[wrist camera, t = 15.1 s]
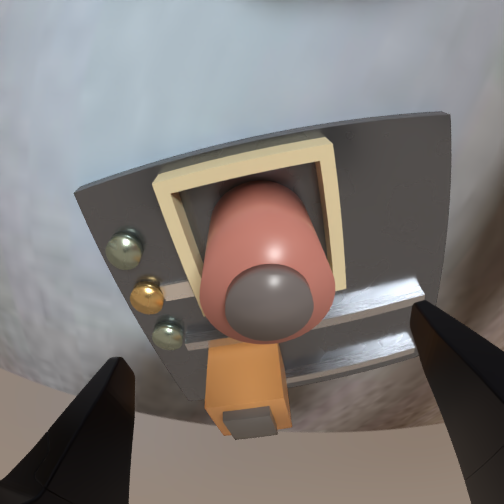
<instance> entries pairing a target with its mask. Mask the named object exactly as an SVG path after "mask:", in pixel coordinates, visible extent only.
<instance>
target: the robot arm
mask: <svg viewBox="0 0 504 504" xmlns="http://www.w3.org/2000/svg"><path fill="white" fill-rule="evenodd" d="M410 329H411V332H412V335H413V338H414V341H415V344H416V347H417V351H418V354H419V357H420V360H421V364H422V367H423V370H424V372H425V375H426V378H427V380H428V382H429V385H430V387H431V389H432V392H433V394H434V397H435V399H436V402H437V404H438V407H439V409H440V412H441V414H442V417H443V419H444V422H445V425H446V427H447V430H448V433H449V436H450V438H451V441H452V444H453V447H454V450H455V452H456V455H457V458H458V461H459V464H460V467H461V471H462V474H463V477H464V480H465V484H466V487H467V490H468V494H469V497H470V501H471V504H504V351H502V350H501V349H499V348H498V347H496V346H495V345H493V344H492V343H491V342H489V341H488V340H486V339H485V338H483V337H482V336H480V335H479V334H477V333H476V332H474V331H473V330H471V329H470V328H468V327H467V326H465V325H464V324H462V323H461V322H459V321H458V320H456V319H455V318H453V317H452V316H450V315H449V314H447V313H446V312H444V311H442V310H441V309H439V308H438V307H436V306H435V305H433V304H432V303H430V302H428V301H427V300H422V301H418V302H415V303H413V305H412V310H411V317H410ZM134 418H135V376H134V373H133V371H132V370H131V368H130V367H129V365H128V364H127V363H126V361H125V360H124V359H123V358H122V357H112V358H110V359H108V360H107V362H106V363H105V364H104V365H103V366H102V367H101V369H100V370H99V371H98V372H97V373H96V374H95V375H94V377H93V378H92V379H91V380H90V381H89V382H88V384H87V385H86V386H85V387H84V388H83V389H82V391H81V392H80V393H79V394H78V395H77V396H76V398H75V399H74V400H73V401H72V402H71V403H70V405H69V406H68V407H67V408H66V409H65V411H64V412H63V413H62V414H61V415H60V417H59V418H58V419H57V420H56V421H55V423H54V424H53V425H52V426H51V427H50V429H49V430H48V432H46V433H45V435H44V436H43V437H42V438H41V439H40V441H39V442H38V443H37V444H36V445H35V446H34V448H33V449H32V450H31V451H30V452H29V453H28V454H27V455H26V456H25V457H24V458H23V459H22V460H21V461H20V463H18V465H17V466H16V467H15V468H14V469H13V470H12V471H11V472H10V473H9V474H8V475H7V476H6V477H5V478H3V479H2V480H0V504H129V503H128V502H129V482H130V466H131V453H132V440H133V430H134Z"/></svg>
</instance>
